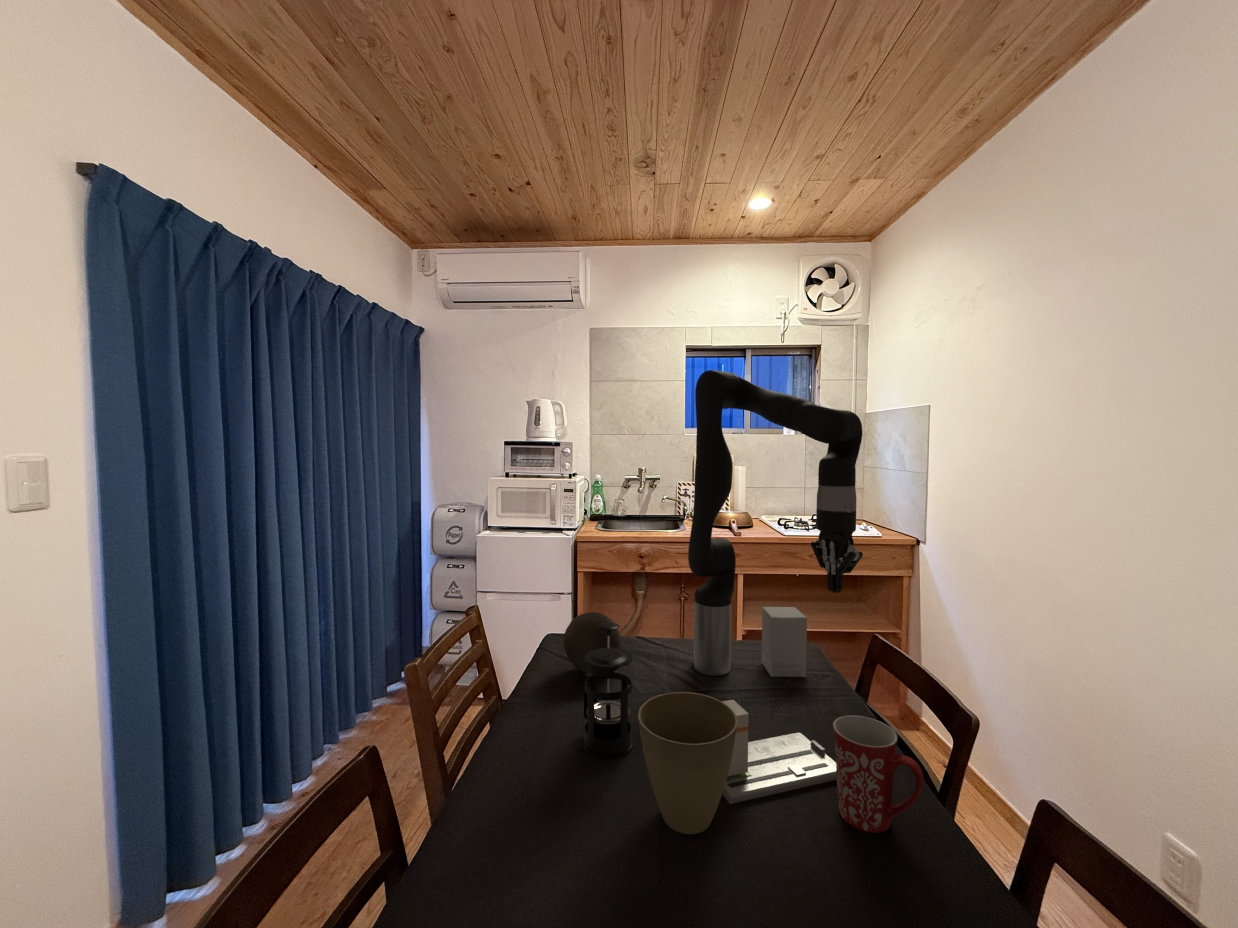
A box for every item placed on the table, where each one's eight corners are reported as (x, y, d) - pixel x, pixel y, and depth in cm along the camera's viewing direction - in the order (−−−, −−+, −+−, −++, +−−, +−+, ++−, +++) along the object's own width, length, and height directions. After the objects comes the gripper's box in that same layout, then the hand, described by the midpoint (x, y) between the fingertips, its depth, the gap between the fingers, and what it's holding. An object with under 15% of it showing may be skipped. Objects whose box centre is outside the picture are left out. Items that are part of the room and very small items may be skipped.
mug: (819, 812, 80) (821, 726, 79) (849, 788, 85) (850, 708, 85) (906, 864, 70) (908, 766, 69) (933, 833, 76) (935, 742, 75)
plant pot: (637, 784, 86) (637, 690, 86) (726, 786, 86) (727, 692, 85) (637, 854, 71) (638, 741, 71) (745, 857, 71) (747, 744, 70)
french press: (645, 746, 97) (646, 625, 97) (608, 767, 91) (609, 638, 90) (604, 721, 106) (604, 611, 105) (567, 739, 99) (568, 621, 99)
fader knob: (711, 758, 90) (712, 702, 90) (732, 754, 91) (733, 699, 91) (726, 776, 85) (727, 717, 85) (748, 772, 86) (748, 713, 86)
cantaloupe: (571, 660, 136) (571, 604, 136) (624, 663, 134) (624, 606, 134) (557, 684, 122) (557, 622, 122) (616, 688, 120) (616, 625, 120)
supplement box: (807, 677, 126) (808, 617, 126) (770, 677, 127) (771, 617, 126) (795, 662, 136) (796, 606, 135) (760, 662, 136) (761, 605, 135)
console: (696, 759, 93) (696, 746, 93) (799, 739, 100) (799, 727, 99) (729, 804, 82) (729, 788, 81) (843, 777, 88) (844, 763, 88)
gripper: (800, 504, 110) (798, 584, 111) (844, 512, 98) (842, 602, 98) (829, 503, 113) (827, 582, 113) (875, 510, 100) (874, 599, 101)
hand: (834, 591), depth 106 cm, fingers closed
